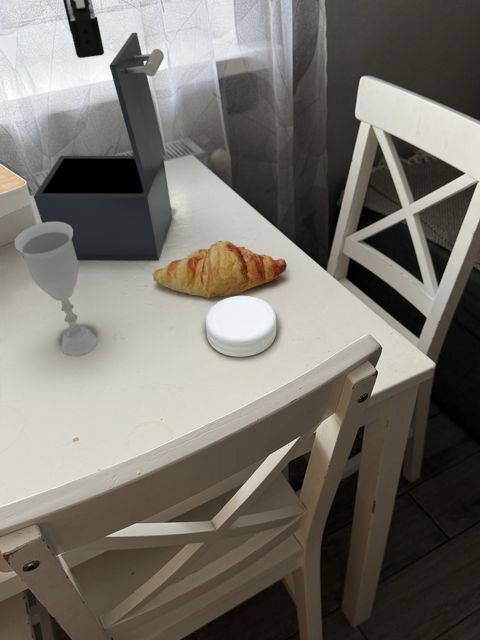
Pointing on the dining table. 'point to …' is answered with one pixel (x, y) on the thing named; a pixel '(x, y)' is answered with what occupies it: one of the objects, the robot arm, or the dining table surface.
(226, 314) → the white short cylinder
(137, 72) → the lid
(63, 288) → the chalice
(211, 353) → the dining table surface
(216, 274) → the croissant
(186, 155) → the dining table surface
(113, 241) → the dark grey box
